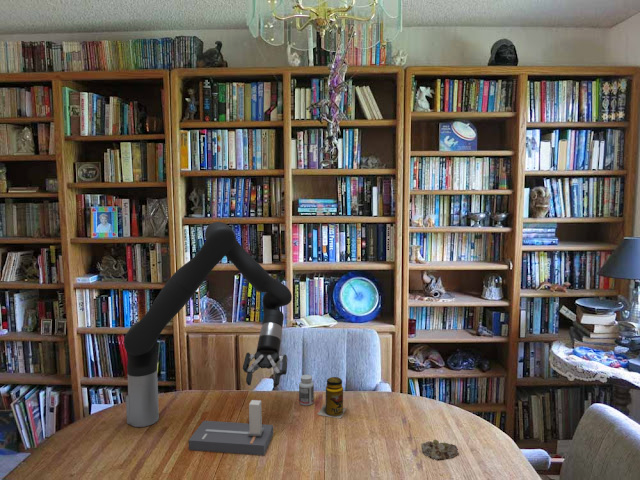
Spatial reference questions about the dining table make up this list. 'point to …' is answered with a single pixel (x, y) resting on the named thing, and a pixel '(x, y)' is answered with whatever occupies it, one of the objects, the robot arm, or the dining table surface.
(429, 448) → the mineral rock
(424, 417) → the dining table surface
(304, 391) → the pill bottle
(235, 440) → the console
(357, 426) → the dining table surface
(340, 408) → the condiment
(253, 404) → the fader tab
